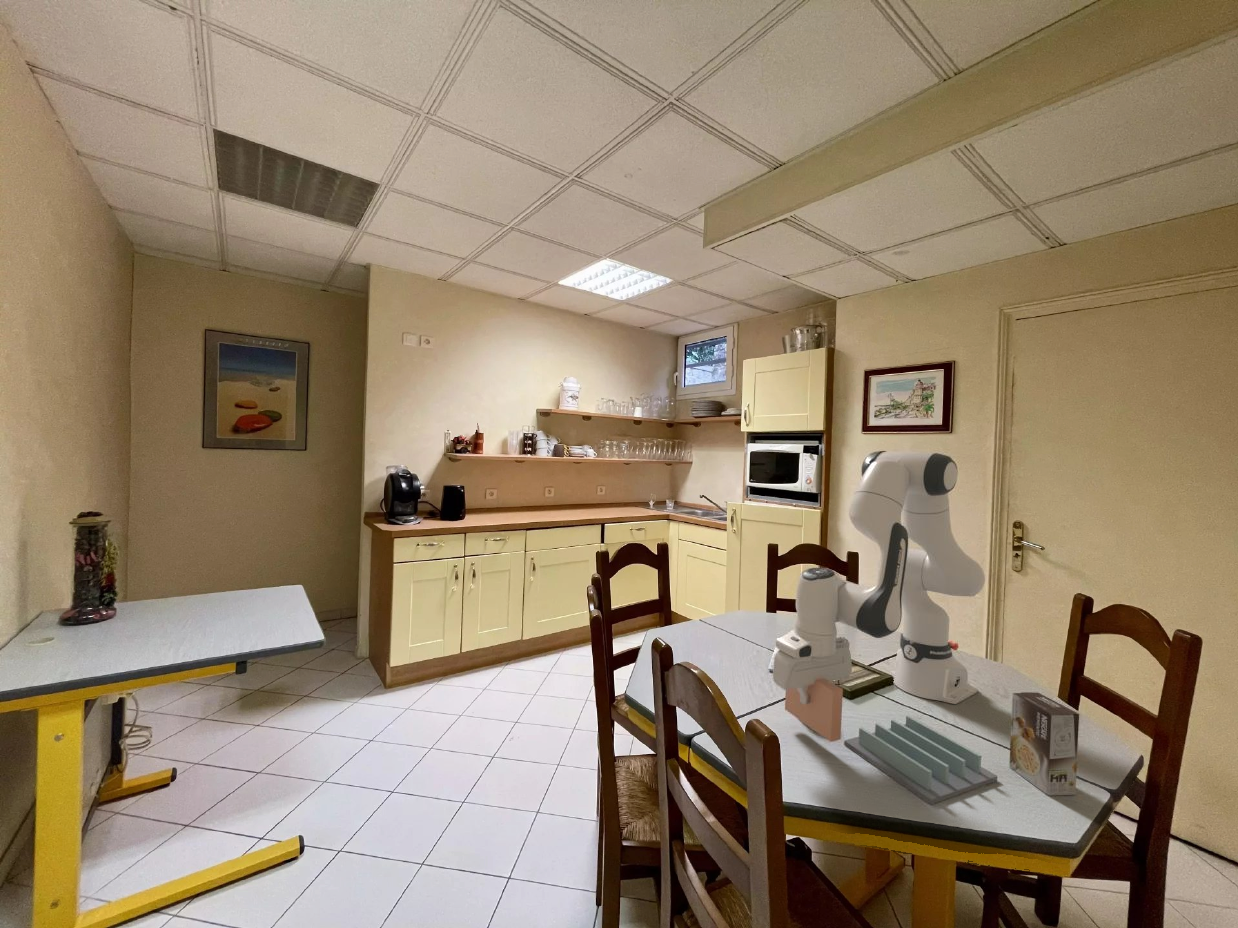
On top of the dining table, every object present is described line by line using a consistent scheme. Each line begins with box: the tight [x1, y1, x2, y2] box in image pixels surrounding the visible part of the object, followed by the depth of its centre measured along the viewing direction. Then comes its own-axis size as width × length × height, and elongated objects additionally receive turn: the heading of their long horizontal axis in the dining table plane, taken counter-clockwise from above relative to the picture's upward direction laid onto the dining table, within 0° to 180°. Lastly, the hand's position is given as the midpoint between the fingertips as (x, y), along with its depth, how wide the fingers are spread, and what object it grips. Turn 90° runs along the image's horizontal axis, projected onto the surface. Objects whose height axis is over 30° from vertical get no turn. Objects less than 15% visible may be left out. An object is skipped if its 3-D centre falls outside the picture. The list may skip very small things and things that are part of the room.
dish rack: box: [843, 715, 998, 806], centre depth 105 cm, size 20×20×4 cm
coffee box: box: [1008, 691, 1080, 796], centre depth 100 cm, size 9×6×16 cm
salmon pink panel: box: [784, 679, 844, 743], centre depth 111 cm, size 3×14×11 cm, turn 23°
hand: (812, 701), depth 111 cm, fingers closed on salmon pink panel, 3 cm apart
